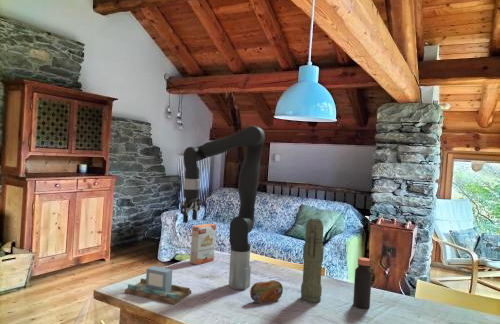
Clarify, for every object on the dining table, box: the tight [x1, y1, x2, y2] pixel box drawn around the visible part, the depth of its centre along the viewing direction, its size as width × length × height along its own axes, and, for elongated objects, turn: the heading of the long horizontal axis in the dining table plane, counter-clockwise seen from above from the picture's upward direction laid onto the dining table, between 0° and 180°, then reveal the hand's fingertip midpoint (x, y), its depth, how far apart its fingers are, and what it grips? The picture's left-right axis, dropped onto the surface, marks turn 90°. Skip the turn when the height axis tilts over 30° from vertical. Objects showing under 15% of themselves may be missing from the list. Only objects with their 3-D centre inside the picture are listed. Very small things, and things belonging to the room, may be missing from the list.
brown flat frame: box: [124, 278, 192, 305], centre depth 156 cm, size 25×13×3 cm, turn 69°
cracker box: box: [189, 223, 217, 266], centre depth 204 cm, size 14×6×21 cm, turn 143°
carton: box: [145, 265, 173, 292], centre depth 156 cm, size 5×10×9 cm, turn 69°
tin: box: [249, 279, 284, 304], centre depth 154 cm, size 15×3×8 cm, turn 117°
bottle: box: [352, 257, 373, 309], centre depth 154 cm, size 7×7×20 cm
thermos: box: [300, 218, 325, 304], centre depth 158 cm, size 9×12×35 cm
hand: (189, 221), depth 175 cm, fingers open, 8 cm apart
